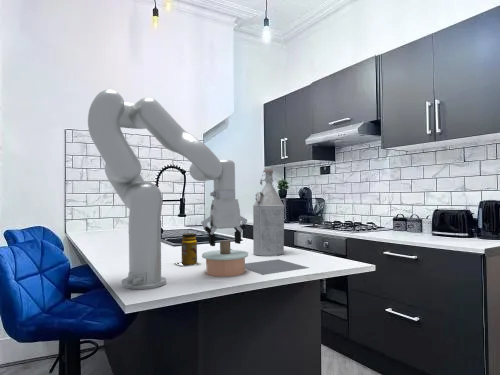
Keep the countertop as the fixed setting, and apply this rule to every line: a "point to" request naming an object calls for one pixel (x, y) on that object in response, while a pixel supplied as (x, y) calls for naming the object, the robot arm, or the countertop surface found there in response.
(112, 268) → the countertop surface
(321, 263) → the countertop surface
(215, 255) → the lid
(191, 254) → the condiment
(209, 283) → the countertop surface
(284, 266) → the mat
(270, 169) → the swing top bottle
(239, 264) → the bowl
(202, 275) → the countertop surface
